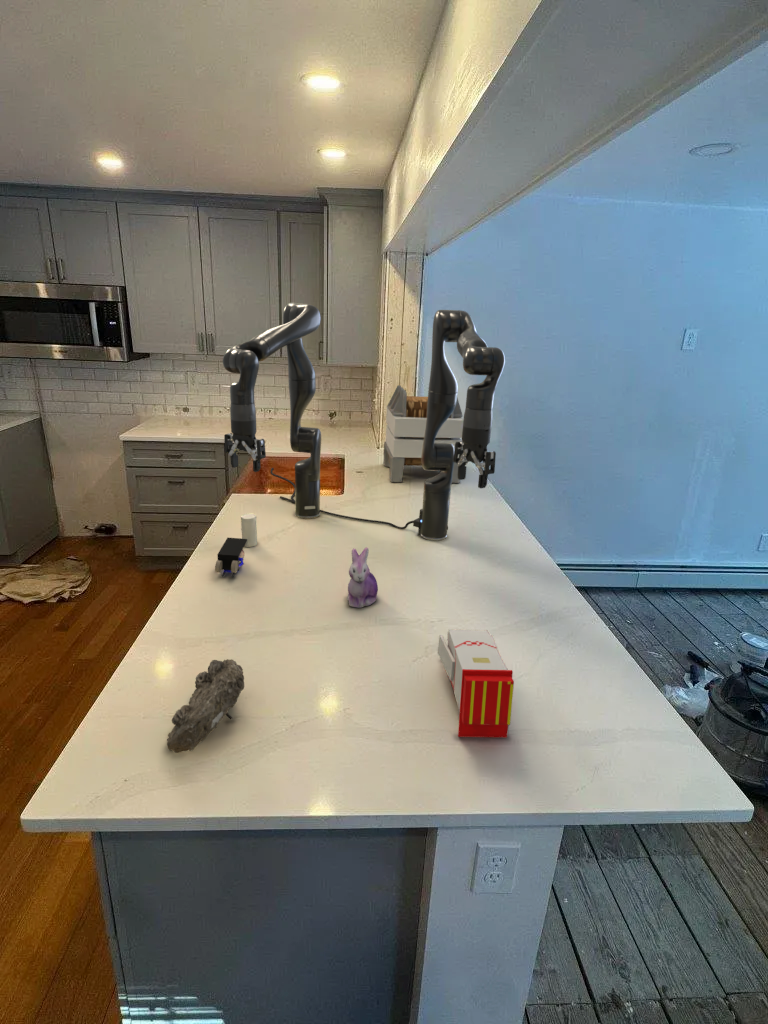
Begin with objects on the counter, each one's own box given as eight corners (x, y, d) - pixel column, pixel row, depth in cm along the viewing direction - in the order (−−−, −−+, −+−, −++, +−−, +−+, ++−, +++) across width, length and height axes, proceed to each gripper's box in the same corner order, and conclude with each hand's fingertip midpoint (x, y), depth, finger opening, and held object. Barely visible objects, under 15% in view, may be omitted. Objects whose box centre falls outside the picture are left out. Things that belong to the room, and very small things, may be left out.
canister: (248, 540, 189) (247, 512, 186) (260, 543, 187) (259, 515, 184) (239, 544, 185) (237, 516, 182) (250, 548, 183) (249, 519, 180)
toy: (488, 613, 130) (523, 677, 101) (484, 667, 133) (517, 744, 104) (435, 612, 130) (455, 676, 101) (432, 666, 133) (451, 743, 103)
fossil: (192, 660, 117) (244, 628, 112) (224, 691, 120) (276, 661, 115) (142, 746, 98) (202, 712, 93) (182, 779, 101) (242, 748, 96)
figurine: (354, 612, 147) (355, 559, 142) (338, 595, 155) (339, 544, 150) (386, 605, 151) (388, 553, 146) (369, 588, 160) (371, 539, 155)
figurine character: (238, 584, 162) (249, 557, 175) (236, 562, 158) (247, 536, 172) (215, 584, 161) (227, 556, 175) (212, 561, 158) (225, 535, 171)
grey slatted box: (382, 463, 289) (386, 382, 275) (445, 464, 293) (451, 384, 279) (390, 482, 257) (394, 392, 243) (460, 483, 261) (468, 394, 247)
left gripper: (270, 418, 172) (271, 470, 177) (233, 412, 178) (236, 462, 183) (253, 422, 165) (255, 475, 171) (216, 416, 171) (219, 468, 177)
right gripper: (449, 421, 154) (444, 478, 160) (484, 431, 143) (478, 492, 148) (470, 419, 158) (465, 475, 163) (506, 429, 147) (499, 488, 152)
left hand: (245, 469), depth 177 cm, fingers open, 8 cm apart
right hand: (471, 483), depth 156 cm, fingers open, 8 cm apart
